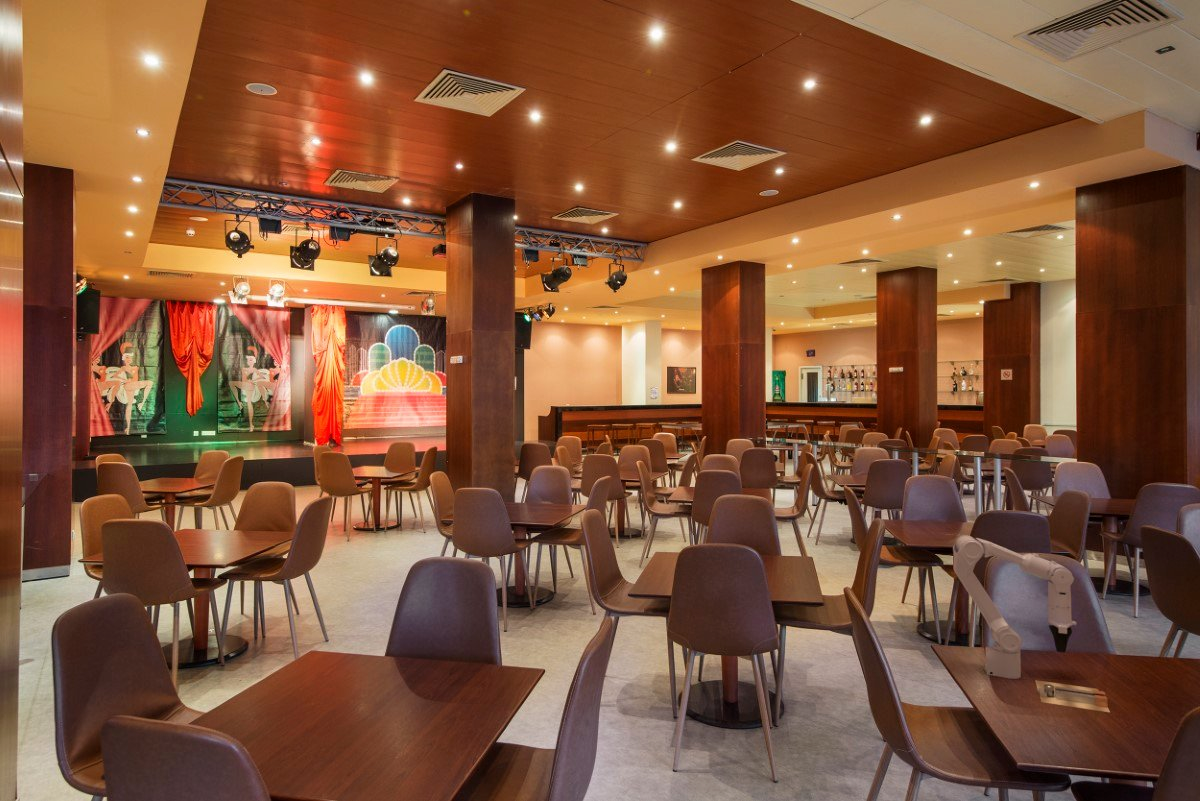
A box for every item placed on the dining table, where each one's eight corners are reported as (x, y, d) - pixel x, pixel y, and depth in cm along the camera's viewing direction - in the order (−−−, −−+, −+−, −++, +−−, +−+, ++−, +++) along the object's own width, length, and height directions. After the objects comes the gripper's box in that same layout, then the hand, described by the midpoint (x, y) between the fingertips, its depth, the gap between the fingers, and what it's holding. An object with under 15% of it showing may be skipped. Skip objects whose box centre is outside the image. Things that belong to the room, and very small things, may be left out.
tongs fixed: (1040, 697, 194) (1039, 687, 194) (1038, 691, 198) (1038, 681, 198) (1107, 707, 187) (1107, 696, 187) (1104, 701, 191) (1104, 691, 191)
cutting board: (1041, 706, 191) (1041, 701, 191) (1035, 684, 207) (1035, 680, 207) (1110, 716, 184) (1110, 712, 184) (1098, 693, 200) (1097, 688, 200)
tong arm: (1055, 695, 195) (1055, 687, 195) (1054, 692, 197) (1054, 684, 197) (1105, 702, 190) (1105, 694, 190) (1104, 699, 192) (1103, 691, 192)
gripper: (1079, 613, 200) (1080, 660, 200) (1072, 601, 213) (1073, 646, 213) (1050, 610, 204) (1051, 657, 203) (1045, 598, 216) (1046, 643, 216)
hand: (1060, 651), depth 208 cm, fingers closed
